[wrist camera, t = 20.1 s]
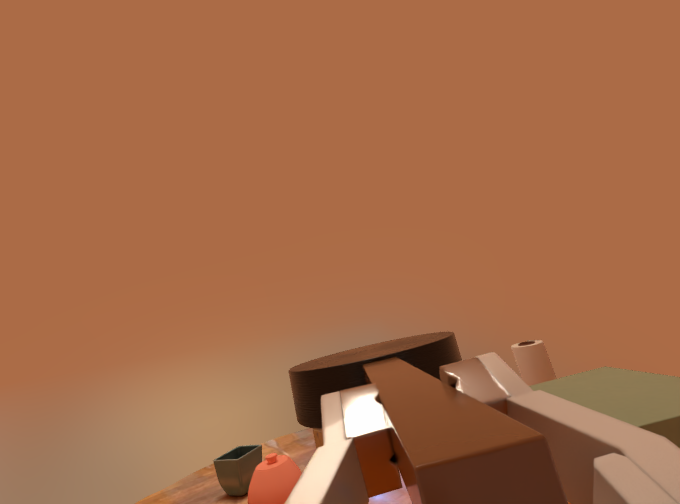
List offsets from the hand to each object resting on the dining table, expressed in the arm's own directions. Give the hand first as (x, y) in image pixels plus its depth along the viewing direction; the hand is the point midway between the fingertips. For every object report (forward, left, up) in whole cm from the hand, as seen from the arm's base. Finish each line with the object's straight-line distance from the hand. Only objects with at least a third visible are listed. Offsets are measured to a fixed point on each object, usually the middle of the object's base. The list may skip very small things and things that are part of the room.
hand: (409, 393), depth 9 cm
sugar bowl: (+39, +63, -31) cm, 81 cm away
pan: (+5, +4, -3) cm, 7 cm away
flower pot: (+42, +80, -31) cm, 96 cm away
